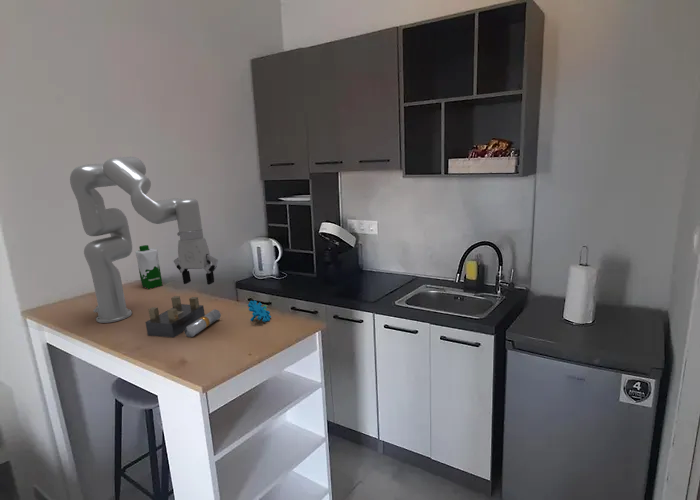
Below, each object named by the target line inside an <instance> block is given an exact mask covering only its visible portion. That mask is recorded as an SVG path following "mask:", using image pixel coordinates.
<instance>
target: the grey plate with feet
mask: <svg viewBox="0 0 700 500" xmlns="http://www.w3.org/2000/svg"><path fill="white" fill-rule="evenodd" d="M170 299H171V306H172V307H171V308H169V309H167V310H166V311H164V312H162V313H160V311H159V307H154V306H152V307H149V308H148V314H149V320H147V321H145V327H146V333H147V336H148V337H149V336H151V337H164V338H176V337H177V336H179V335H181V334H182V333H184V329H185V327H187V326H189V325H190V324H192V323H193V322H195V321H196V320H198V319H199V318H201V317H203V316H204V315H206V314H205V308H204V304H203V305H202V304H200V302H199V297H198V296H192V297H189V298H188V299H189V300H188V301H189V304H185V303H182V302H181V296H180V295H179V296H177V295H174V296H172V297H171V298H170Z"/></svg>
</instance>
